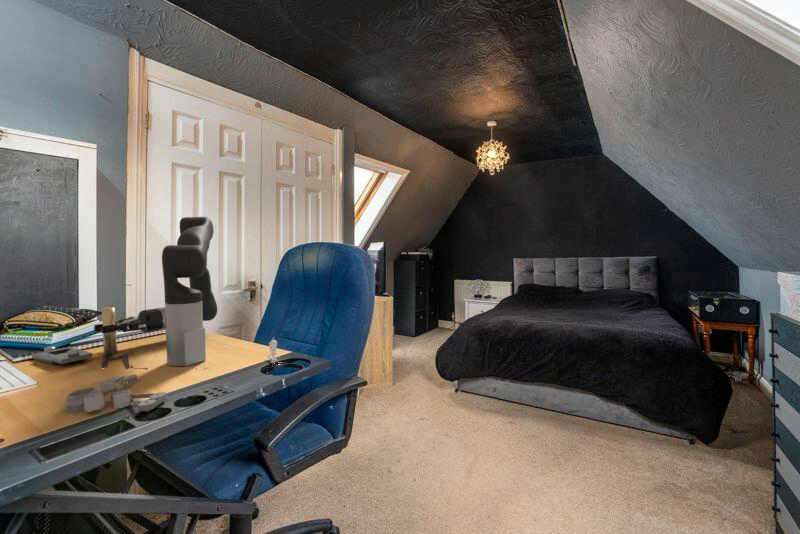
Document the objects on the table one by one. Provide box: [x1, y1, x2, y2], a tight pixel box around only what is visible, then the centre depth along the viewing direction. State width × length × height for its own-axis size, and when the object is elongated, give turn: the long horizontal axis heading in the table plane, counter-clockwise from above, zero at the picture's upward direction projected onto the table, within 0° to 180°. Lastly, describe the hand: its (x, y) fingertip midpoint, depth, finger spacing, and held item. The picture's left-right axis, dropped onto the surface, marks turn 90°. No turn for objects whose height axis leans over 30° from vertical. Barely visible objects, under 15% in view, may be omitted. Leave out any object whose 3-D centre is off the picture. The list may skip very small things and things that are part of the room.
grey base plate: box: [31, 346, 93, 366], centre depth 108 cm, size 19×7×4 cm, turn 62°
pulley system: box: [63, 374, 168, 414], centre depth 81 cm, size 27×5×15 cm
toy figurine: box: [265, 337, 281, 366], centre depth 107 cm, size 5×8×7 cm, turn 42°
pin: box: [101, 306, 118, 355], centre depth 114 cm, size 3×3×14 cm
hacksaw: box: [101, 352, 149, 371], centre depth 105 cm, size 24×10×2 cm, turn 36°
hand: (98, 329), depth 112 cm, fingers open, 3 cm apart
